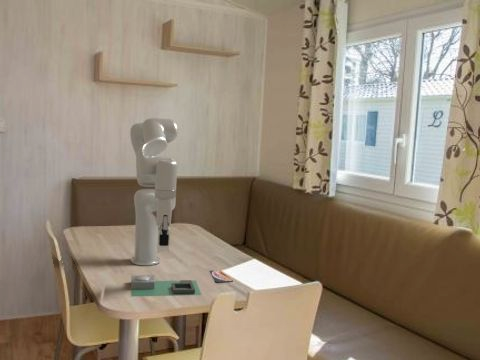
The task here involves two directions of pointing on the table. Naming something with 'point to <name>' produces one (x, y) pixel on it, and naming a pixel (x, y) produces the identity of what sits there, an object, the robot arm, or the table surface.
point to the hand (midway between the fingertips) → (163, 243)
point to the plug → (162, 248)
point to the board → (162, 287)
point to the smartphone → (220, 277)
